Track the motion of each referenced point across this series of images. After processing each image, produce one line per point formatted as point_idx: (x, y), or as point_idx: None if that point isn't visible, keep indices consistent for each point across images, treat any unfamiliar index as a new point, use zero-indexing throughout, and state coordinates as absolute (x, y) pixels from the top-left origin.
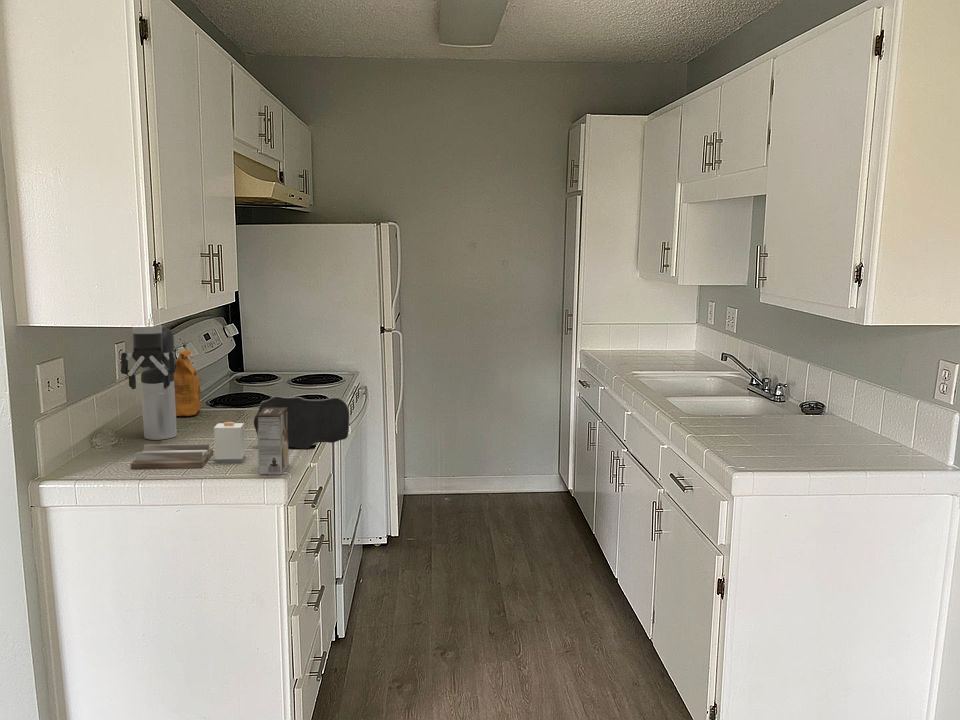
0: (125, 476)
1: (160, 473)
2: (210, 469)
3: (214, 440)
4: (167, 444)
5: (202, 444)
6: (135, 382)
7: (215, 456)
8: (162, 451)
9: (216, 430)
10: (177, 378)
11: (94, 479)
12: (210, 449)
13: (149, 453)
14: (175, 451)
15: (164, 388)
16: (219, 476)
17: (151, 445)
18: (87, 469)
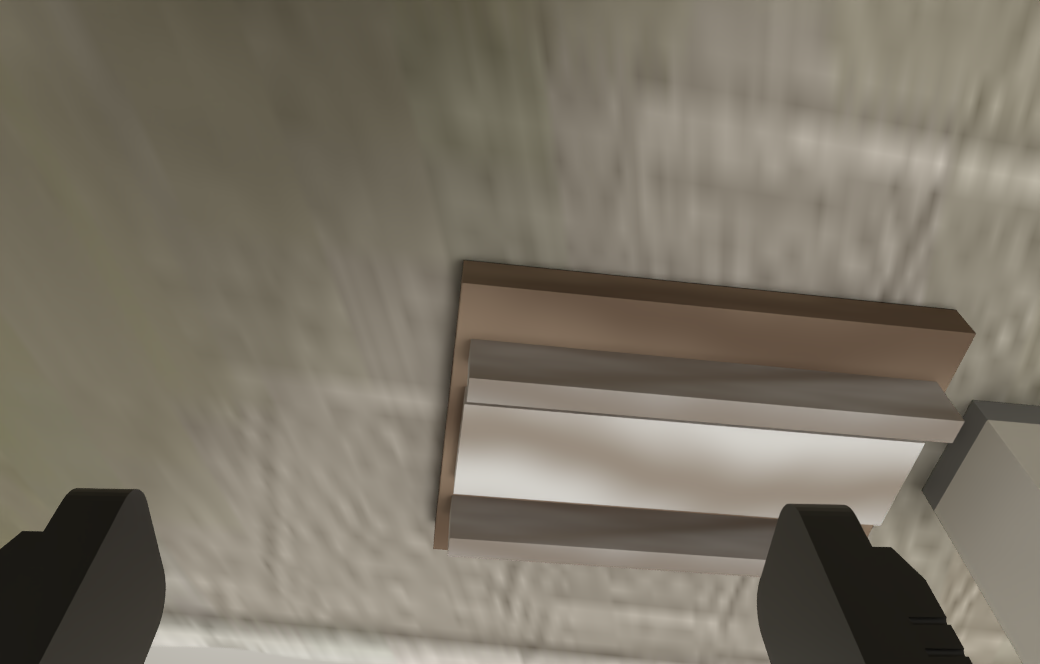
0: (437, 607)
1: (611, 591)
2: None
3: (998, 618)
4: (648, 399)
5: (912, 433)
6: (89, 609)
7: (946, 526)
8: (610, 436)
9: None
10: None
11: (291, 625)
12: (956, 338)
13: (542, 561)
14: (701, 446)
15: (766, 592)
16: None
17: (525, 405)
18: (168, 489)
